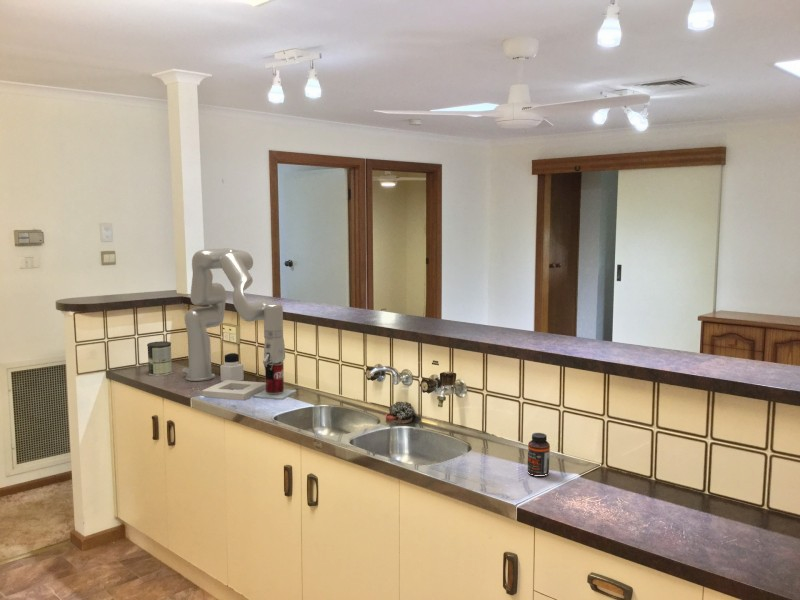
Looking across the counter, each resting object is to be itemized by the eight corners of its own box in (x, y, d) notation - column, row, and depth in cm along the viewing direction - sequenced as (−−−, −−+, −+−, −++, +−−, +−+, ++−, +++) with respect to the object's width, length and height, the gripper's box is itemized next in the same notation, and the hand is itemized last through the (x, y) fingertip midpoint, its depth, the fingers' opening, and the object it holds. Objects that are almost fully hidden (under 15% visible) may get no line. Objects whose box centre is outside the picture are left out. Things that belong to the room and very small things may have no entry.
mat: (252, 397, 270) (252, 395, 270) (268, 389, 282) (268, 388, 282) (282, 399, 266) (282, 398, 266) (296, 391, 278) (296, 390, 278)
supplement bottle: (523, 475, 188) (524, 435, 186) (532, 468, 193) (533, 430, 191) (544, 479, 185) (545, 439, 183) (552, 472, 189) (553, 433, 188)
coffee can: (143, 375, 308) (142, 344, 307) (158, 370, 318) (157, 340, 316) (162, 376, 305) (161, 346, 303) (177, 371, 315) (175, 342, 313)
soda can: (285, 390, 277) (285, 361, 276) (281, 394, 270) (280, 365, 269) (268, 389, 278) (268, 361, 277) (263, 394, 271) (262, 364, 269)
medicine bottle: (244, 380, 298) (243, 353, 297) (231, 383, 293) (230, 356, 291) (232, 378, 302) (232, 351, 301) (220, 381, 297) (219, 354, 295)
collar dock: (201, 396, 271) (201, 390, 270) (227, 385, 289) (226, 379, 288) (244, 400, 265) (244, 394, 265) (267, 388, 283) (267, 382, 283)
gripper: (272, 338, 262) (272, 382, 264) (291, 331, 278) (292, 372, 281) (254, 337, 264) (255, 381, 266) (275, 330, 280) (276, 371, 283)
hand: (274, 376), depth 273 cm, fingers open, 7 cm apart
